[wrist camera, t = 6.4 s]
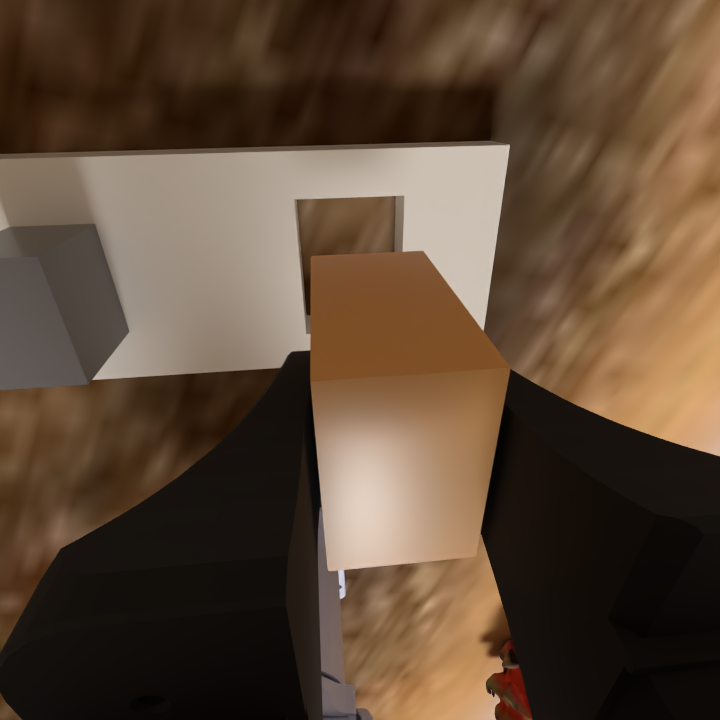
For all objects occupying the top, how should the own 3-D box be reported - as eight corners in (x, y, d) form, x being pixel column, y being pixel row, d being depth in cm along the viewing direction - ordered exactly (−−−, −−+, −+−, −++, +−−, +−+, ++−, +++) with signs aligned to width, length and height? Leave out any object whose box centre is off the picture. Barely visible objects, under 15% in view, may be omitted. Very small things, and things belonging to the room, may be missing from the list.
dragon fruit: (485, 661, 44) (528, 572, 40) (573, 718, 41) (630, 627, 37) (462, 743, 36) (513, 643, 32) (568, 820, 33) (639, 720, 29)
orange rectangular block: (415, 389, 14) (475, 556, 9) (321, 396, 14) (328, 571, 9) (423, 250, 12) (510, 367, 7) (310, 256, 12) (310, 381, 6)
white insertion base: (467, 335, 23) (513, 405, 17) (16, 362, 21) (-79, 448, 16) (490, 140, 18) (562, 156, 13) (-84, 156, 16) (-265, 181, 11)
